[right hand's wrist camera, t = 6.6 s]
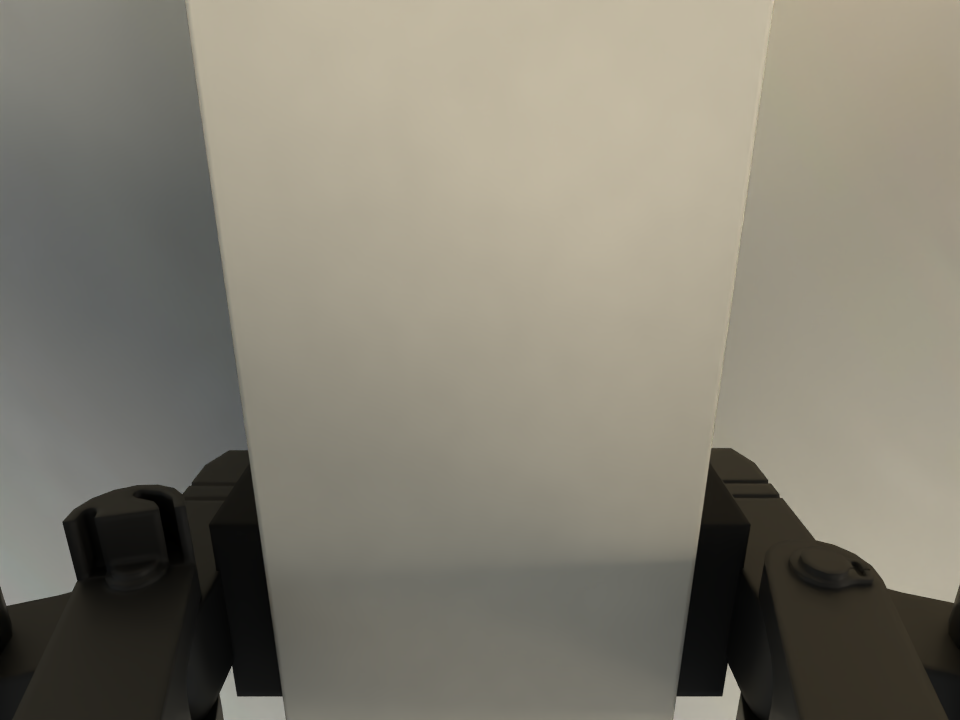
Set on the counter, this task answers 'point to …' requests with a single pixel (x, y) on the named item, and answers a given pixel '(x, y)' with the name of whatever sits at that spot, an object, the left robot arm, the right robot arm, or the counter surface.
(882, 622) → the right robot arm
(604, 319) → the beam
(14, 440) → the counter surface
